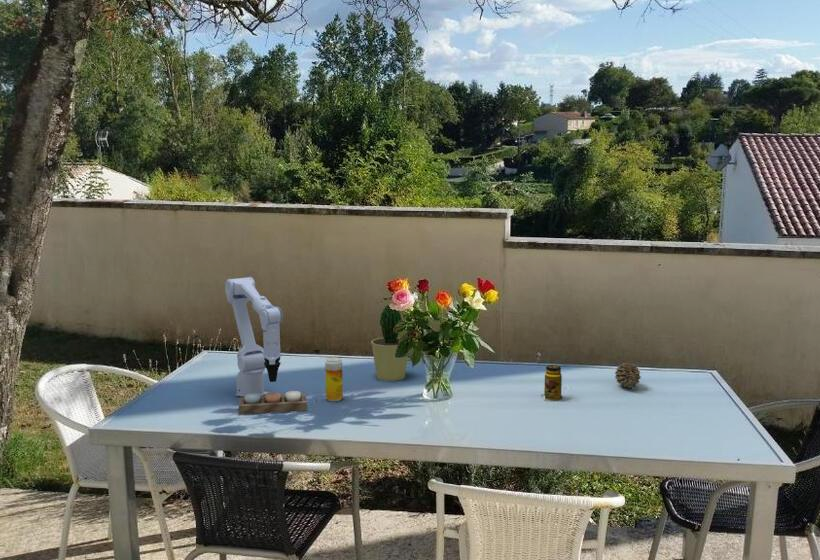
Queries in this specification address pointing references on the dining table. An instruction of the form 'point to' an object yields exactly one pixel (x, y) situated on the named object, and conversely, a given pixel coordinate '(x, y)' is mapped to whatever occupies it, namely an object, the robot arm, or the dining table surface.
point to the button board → (272, 406)
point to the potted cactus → (388, 348)
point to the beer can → (334, 379)
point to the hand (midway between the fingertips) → (272, 379)
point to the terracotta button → (272, 397)
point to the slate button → (252, 398)
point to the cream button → (293, 396)
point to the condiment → (553, 383)
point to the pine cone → (627, 375)
